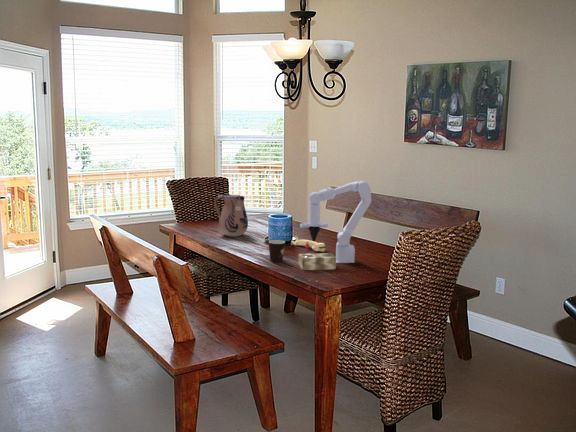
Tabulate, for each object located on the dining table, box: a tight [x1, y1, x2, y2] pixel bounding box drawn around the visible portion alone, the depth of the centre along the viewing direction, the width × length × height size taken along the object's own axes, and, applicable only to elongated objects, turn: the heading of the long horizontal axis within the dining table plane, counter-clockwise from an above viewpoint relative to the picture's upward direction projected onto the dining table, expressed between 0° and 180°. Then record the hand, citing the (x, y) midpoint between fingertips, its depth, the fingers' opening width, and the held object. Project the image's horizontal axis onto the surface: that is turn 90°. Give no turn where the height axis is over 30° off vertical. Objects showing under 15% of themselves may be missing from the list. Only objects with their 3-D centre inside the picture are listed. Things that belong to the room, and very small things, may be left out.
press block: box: [298, 252, 337, 271], centre depth 296 cm, size 17×9×6 cm, turn 102°
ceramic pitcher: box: [213, 194, 249, 238], centre depth 364 cm, size 18×21×25 cm
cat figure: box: [290, 232, 327, 253], centre depth 336 cm, size 10×9×25 cm
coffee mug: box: [268, 239, 286, 263], centre depth 307 cm, size 12×9×10 cm
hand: (313, 240), depth 308 cm, fingers closed
